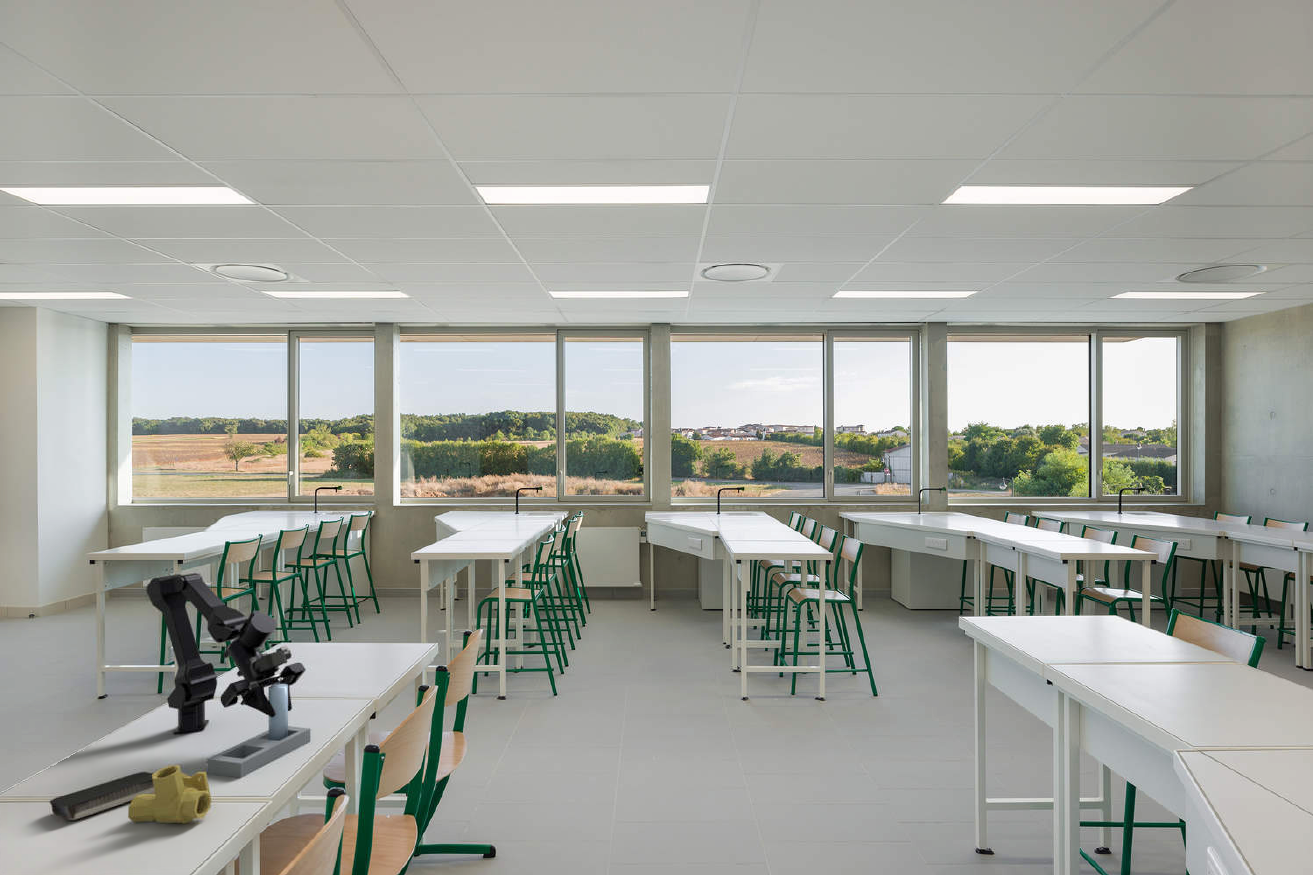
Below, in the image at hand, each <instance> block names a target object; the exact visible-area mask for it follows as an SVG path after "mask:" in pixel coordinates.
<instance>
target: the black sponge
mask: <svg viewBox="0 0 1313 875" xmlns="http://www.w3.org/2000/svg"><path fill="white" fill-rule="evenodd" d="M154 773H155V772H147V771H141V772H136V773H133V774H130V775H126V776H123V777H120V778H117V779H114V780H109V781H107V782H104V783H100V784H97V785H93V786H90V787H87V788H85V789H81V790H77V791H74V792H71V793H68V794H64V795H60V796H57V797H55V798H53V799H50V800H49V804H50V805H51V811H52V813H53V814H55V815H57V816H61V818H63V819H64V820H70V821H71V820H72V821H75V820H78V819H81V818H84V817H87V816H90V815H94V814H96V813H99V812H102V811H105V810H108V809H111V808H113V807H116V806H119V805H122V804H125V803H127V802H132V800H133V799H134V797H135V796H138V795H141V794H155V791H154V785H153V779H152V774H154Z"/></svg>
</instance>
